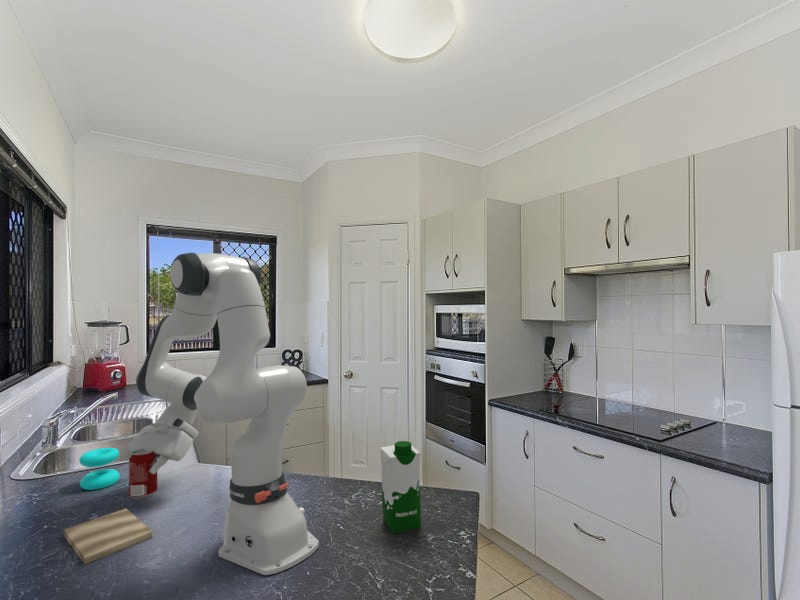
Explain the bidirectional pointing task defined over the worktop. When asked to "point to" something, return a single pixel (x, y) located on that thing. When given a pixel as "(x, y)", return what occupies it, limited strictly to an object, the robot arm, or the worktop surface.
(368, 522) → the worktop surface
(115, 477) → the donuts
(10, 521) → the worktop surface
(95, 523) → the cutting board
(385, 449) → the milk carton
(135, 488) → the soda can
